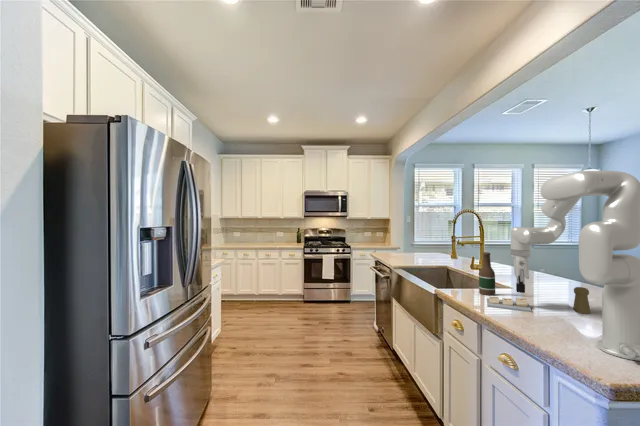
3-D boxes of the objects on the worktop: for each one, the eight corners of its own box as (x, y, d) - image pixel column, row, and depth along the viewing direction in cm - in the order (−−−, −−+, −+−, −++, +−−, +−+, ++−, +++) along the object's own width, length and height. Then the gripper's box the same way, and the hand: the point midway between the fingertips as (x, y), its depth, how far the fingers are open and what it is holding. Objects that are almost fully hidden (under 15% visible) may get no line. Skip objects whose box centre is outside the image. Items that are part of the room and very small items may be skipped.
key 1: (527, 308, 131) (527, 300, 131) (516, 307, 133) (516, 299, 133) (526, 306, 134) (526, 298, 134) (515, 305, 136) (515, 297, 136)
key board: (531, 315, 126) (531, 310, 126) (487, 309, 135) (487, 305, 135) (527, 306, 138) (527, 302, 138) (486, 301, 146) (486, 298, 146)
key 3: (499, 307, 136) (499, 299, 136) (489, 305, 138) (489, 298, 138) (498, 304, 140) (498, 297, 140) (489, 303, 142) (489, 296, 142)
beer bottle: (476, 295, 158) (475, 252, 158) (485, 293, 161) (484, 251, 161) (489, 299, 151) (488, 253, 151) (498, 297, 154) (498, 252, 154)
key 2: (513, 308, 133) (512, 300, 133) (503, 307, 135) (502, 299, 135) (512, 306, 137) (512, 298, 137) (502, 305, 139) (502, 297, 139)
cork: (594, 314, 126) (593, 289, 126) (578, 313, 128) (578, 289, 128) (584, 309, 132) (584, 286, 132) (569, 309, 133) (569, 285, 134)
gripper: (532, 256, 125) (533, 297, 126) (527, 251, 138) (528, 289, 139) (512, 255, 129) (512, 295, 129) (509, 250, 142) (509, 287, 142)
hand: (520, 292), depth 134 cm, fingers closed
